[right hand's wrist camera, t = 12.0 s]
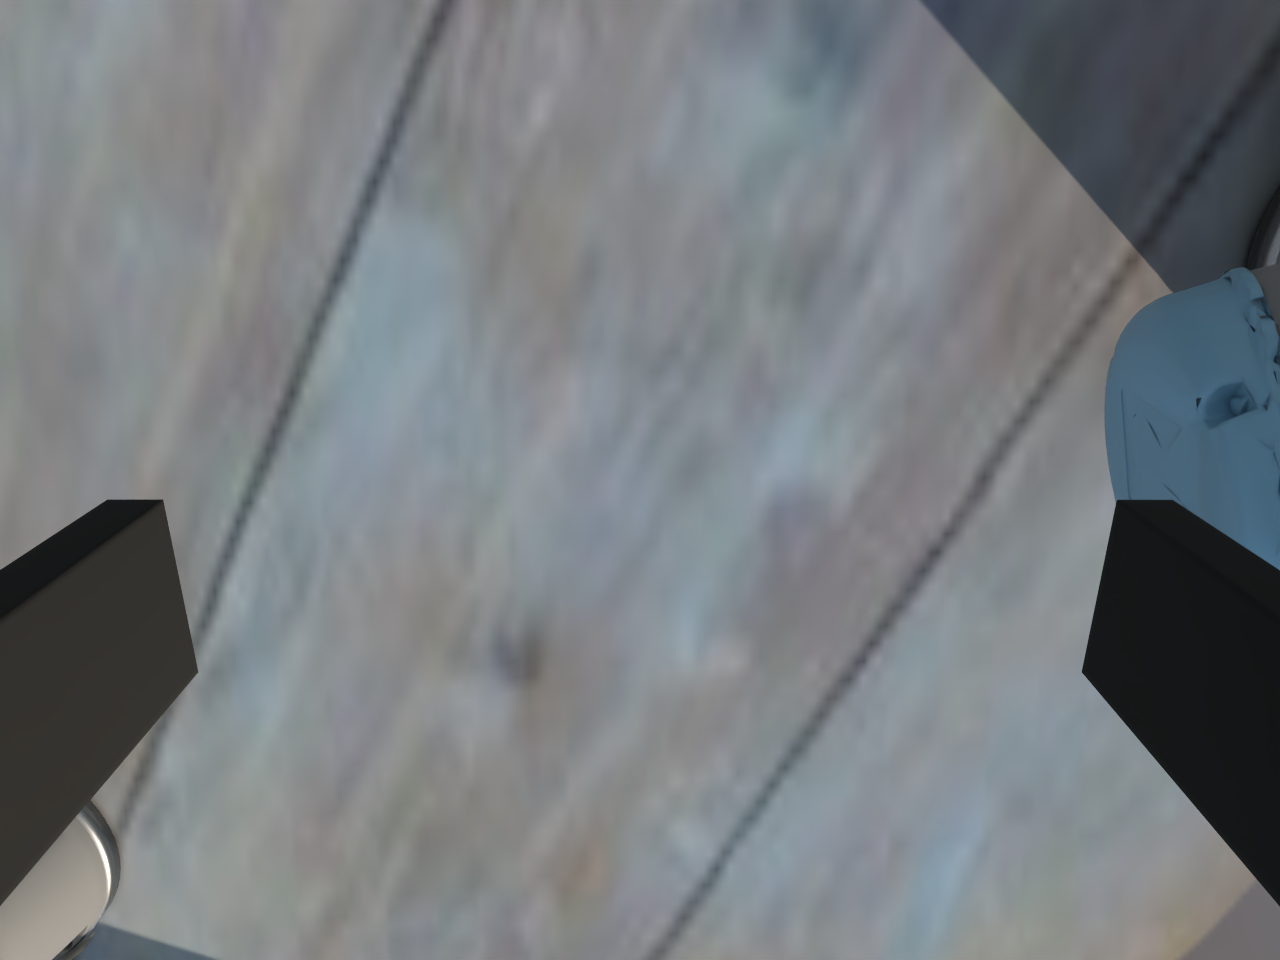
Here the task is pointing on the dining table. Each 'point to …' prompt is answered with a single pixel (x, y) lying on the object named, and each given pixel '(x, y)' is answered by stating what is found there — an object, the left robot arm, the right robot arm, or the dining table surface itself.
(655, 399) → the dining table surface
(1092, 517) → the dining table surface
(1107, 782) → the dining table surface
